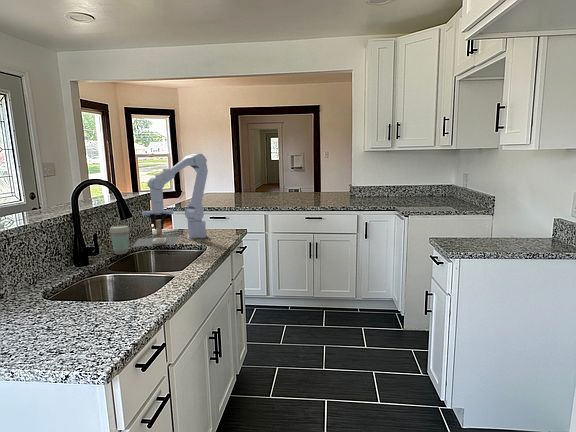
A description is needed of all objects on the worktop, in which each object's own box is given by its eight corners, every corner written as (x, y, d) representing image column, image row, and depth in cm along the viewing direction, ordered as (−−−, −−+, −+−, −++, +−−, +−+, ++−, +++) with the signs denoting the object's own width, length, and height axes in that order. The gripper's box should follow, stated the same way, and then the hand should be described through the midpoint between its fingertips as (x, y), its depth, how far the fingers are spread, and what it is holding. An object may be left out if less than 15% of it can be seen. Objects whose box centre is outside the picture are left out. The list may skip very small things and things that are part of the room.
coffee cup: (135, 250, 177) (133, 225, 175) (123, 255, 169) (121, 229, 167) (119, 250, 180) (117, 224, 178) (106, 254, 171) (104, 228, 169)
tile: (166, 237, 194) (165, 240, 188) (166, 241, 194) (165, 243, 189) (153, 238, 193) (152, 241, 187) (154, 241, 193) (152, 244, 187)
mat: (178, 237, 205) (178, 236, 205) (175, 245, 188) (175, 244, 188) (138, 239, 201) (138, 238, 201) (132, 247, 184) (132, 246, 184)
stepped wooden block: (164, 234, 194) (163, 219, 193) (163, 236, 190) (162, 220, 189) (155, 235, 193) (154, 219, 192) (154, 237, 189) (153, 221, 188)
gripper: (140, 203, 184) (142, 231, 186) (171, 202, 187) (173, 229, 189) (142, 201, 191) (144, 228, 193) (173, 200, 193) (174, 227, 196)
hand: (159, 229), depth 191 cm, fingers closed on stepped wooden block, 2 cm apart
